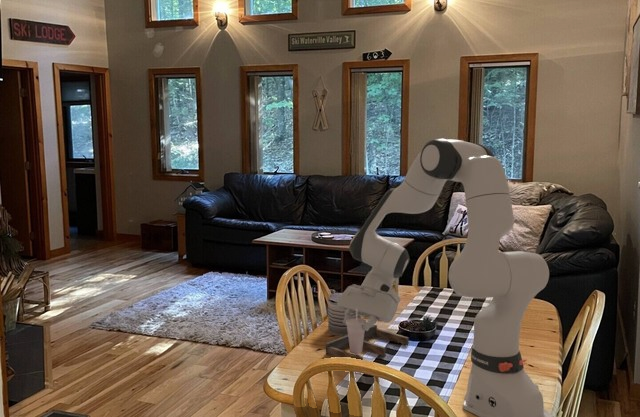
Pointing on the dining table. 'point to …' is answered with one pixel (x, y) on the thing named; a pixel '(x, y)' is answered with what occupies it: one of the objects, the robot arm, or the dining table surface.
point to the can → (337, 316)
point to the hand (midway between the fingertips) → (354, 326)
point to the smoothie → (355, 333)
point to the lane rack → (364, 343)
